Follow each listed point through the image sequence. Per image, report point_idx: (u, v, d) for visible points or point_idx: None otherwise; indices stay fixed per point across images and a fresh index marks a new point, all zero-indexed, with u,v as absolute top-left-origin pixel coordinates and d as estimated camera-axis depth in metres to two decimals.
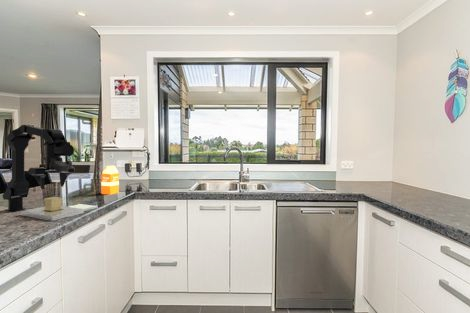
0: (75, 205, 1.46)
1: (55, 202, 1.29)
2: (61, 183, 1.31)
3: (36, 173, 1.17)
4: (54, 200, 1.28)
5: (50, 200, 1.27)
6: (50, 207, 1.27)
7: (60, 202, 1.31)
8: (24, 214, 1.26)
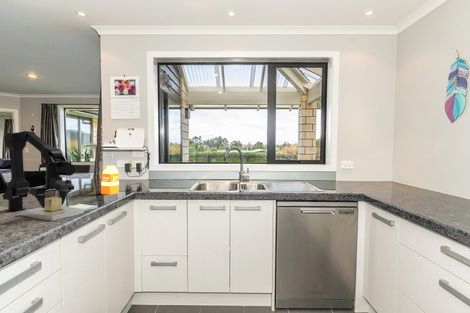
0: (75, 205, 1.46)
1: (55, 202, 1.29)
2: None
3: (37, 193, 1.21)
4: (54, 200, 1.28)
5: (50, 200, 1.27)
6: (50, 207, 1.27)
7: (60, 202, 1.31)
8: (24, 214, 1.26)
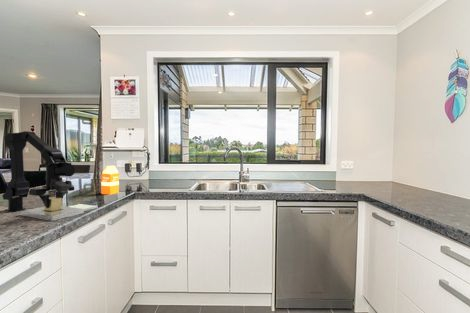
0: (75, 205, 1.46)
1: (55, 202, 1.29)
2: None
3: (37, 194, 1.21)
4: (54, 200, 1.28)
5: (50, 200, 1.27)
6: (50, 207, 1.27)
7: (60, 202, 1.31)
8: (24, 214, 1.26)
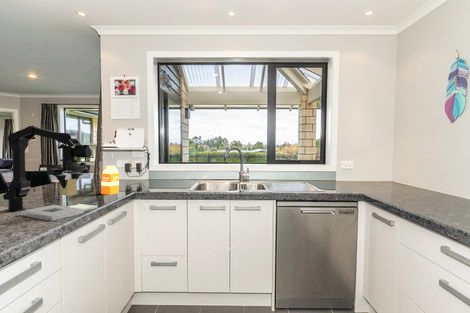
0: (75, 205, 1.46)
1: (71, 183, 1.35)
2: None
3: (54, 174, 1.27)
4: (70, 181, 1.35)
5: (66, 180, 1.34)
6: (66, 187, 1.34)
7: (75, 183, 1.37)
8: (24, 214, 1.26)
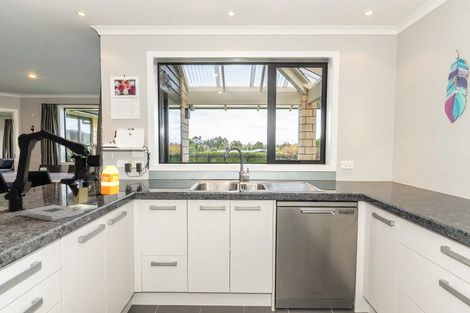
0: (75, 205, 1.46)
1: (82, 191, 1.41)
2: None
3: (67, 183, 1.33)
4: (81, 189, 1.41)
5: (78, 189, 1.40)
6: (78, 195, 1.40)
7: (86, 191, 1.44)
8: (24, 214, 1.26)
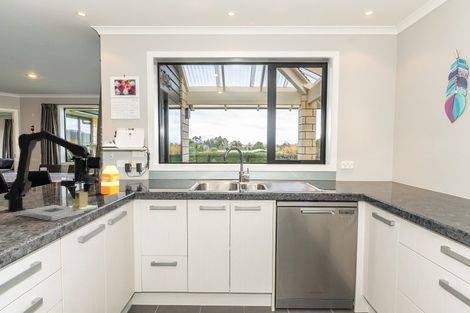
0: None
1: (82, 196, 1.41)
2: None
3: (68, 185, 1.33)
4: (81, 194, 1.41)
5: (78, 194, 1.40)
6: (78, 200, 1.40)
7: (86, 196, 1.44)
8: (24, 214, 1.26)
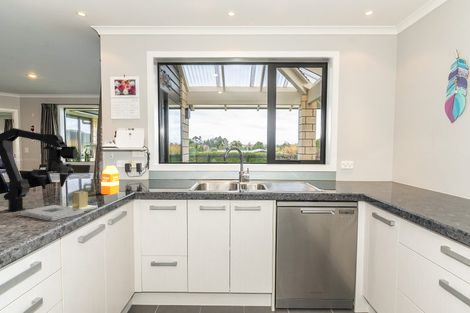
0: None
1: (82, 196, 1.41)
2: (61, 184, 1.43)
3: (39, 174, 1.29)
4: (81, 194, 1.41)
5: (78, 194, 1.40)
6: (78, 200, 1.40)
7: (86, 196, 1.44)
8: (24, 214, 1.26)
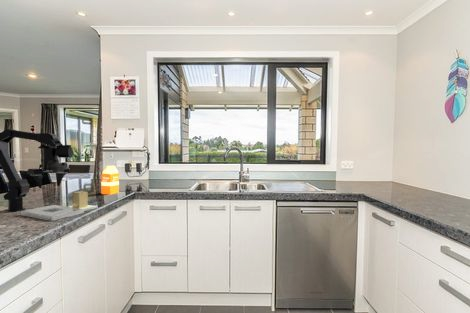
0: None
1: (82, 196, 1.41)
2: (57, 183, 1.42)
3: (34, 173, 1.29)
4: (81, 194, 1.41)
5: (78, 194, 1.40)
6: (78, 200, 1.40)
7: (86, 196, 1.44)
8: (24, 214, 1.26)
